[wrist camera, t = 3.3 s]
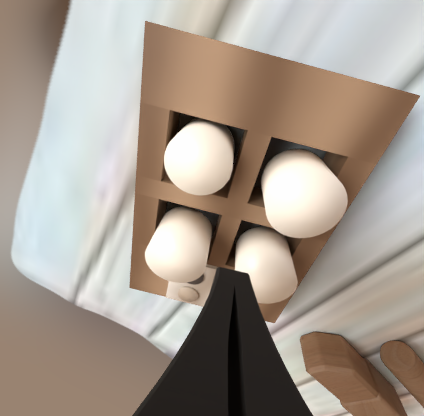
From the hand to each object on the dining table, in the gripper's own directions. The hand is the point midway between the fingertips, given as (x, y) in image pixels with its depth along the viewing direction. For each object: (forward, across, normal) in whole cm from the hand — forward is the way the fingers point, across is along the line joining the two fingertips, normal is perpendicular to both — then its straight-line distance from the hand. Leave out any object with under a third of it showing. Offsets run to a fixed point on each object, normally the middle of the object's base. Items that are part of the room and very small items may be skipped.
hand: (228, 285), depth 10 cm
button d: (+7, -3, +3) cm, 9 cm away
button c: (+7, -3, -3) cm, 8 cm away
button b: (+7, +3, +3) cm, 8 cm away
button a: (+9, +3, -3) cm, 10 cm away
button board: (+10, 0, +1) cm, 10 cm away
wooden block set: (+11, -24, +16) cm, 31 cm away
